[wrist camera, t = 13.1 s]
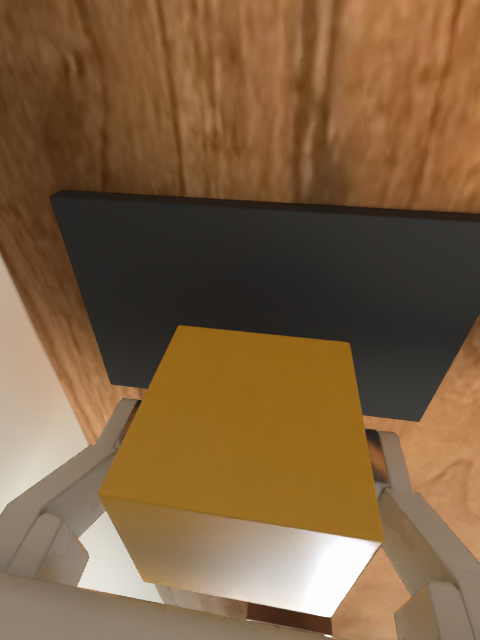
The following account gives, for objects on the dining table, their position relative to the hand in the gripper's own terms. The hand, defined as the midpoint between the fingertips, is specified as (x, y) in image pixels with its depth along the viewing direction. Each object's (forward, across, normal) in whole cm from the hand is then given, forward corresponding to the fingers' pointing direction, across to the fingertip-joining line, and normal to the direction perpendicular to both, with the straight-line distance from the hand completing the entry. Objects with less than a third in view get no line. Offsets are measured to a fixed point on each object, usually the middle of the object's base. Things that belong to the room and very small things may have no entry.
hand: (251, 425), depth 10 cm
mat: (+6, 0, 0) cm, 6 cm away
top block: (+1, 0, 0) cm, 1 cm away
